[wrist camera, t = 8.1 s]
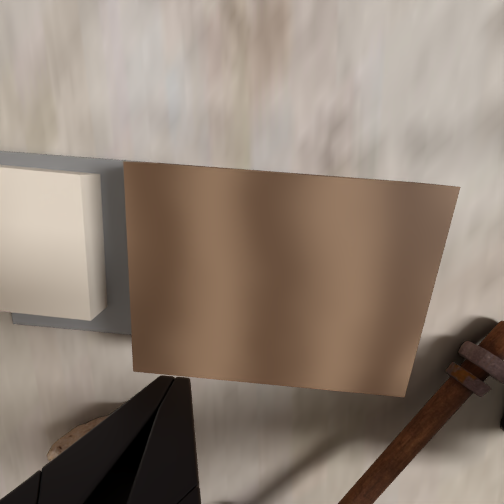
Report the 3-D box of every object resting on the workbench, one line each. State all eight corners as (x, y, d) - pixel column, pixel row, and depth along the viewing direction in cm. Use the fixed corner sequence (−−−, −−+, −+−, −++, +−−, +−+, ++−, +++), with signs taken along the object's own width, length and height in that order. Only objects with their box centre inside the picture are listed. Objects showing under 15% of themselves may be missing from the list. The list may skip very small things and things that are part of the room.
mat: (145, 161, 18) (143, 162, 18) (150, 334, 21) (149, 336, 21) (-13, 149, 18) (-18, 149, 18) (16, 321, 22) (13, 323, 21)
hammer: (188, 569, 26) (162, 783, 16) (414, 275, 24) (540, 316, 15) (249, 601, 27) (260, 823, 17) (472, 320, 25) (627, 387, 15)
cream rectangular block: (-26, 164, 16) (4, 164, 18) (-2, 310, 19) (23, 297, 21) (80, 174, 16) (100, 174, 18) (90, 320, 19) (107, 306, 21)
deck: (418, 182, 18) (460, 186, 14) (379, 355, 21) (404, 397, 17) (153, 162, 18) (123, 161, 14) (157, 334, 21) (133, 371, 18)
